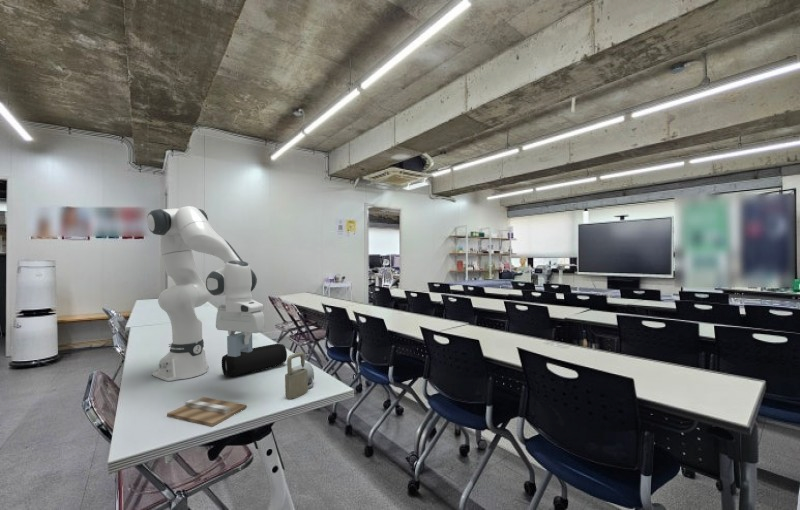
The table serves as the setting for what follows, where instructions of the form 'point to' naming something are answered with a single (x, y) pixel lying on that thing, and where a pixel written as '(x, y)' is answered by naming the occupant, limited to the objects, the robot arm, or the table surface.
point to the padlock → (296, 378)
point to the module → (238, 344)
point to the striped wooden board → (206, 411)
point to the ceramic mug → (309, 370)
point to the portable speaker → (254, 360)
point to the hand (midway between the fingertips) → (240, 343)
